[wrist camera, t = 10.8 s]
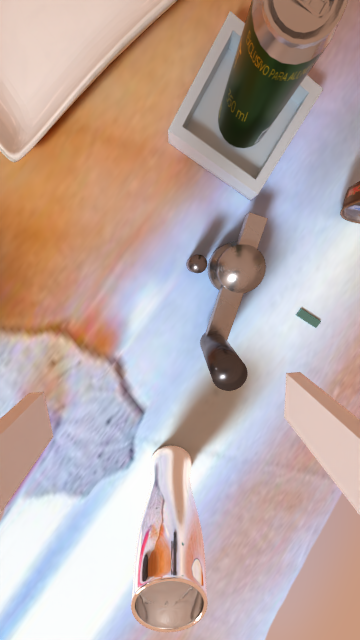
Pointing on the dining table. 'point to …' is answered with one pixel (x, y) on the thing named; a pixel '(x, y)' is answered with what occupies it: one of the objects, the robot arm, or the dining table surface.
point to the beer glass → (169, 549)
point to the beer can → (273, 63)
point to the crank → (233, 302)
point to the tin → (352, 204)
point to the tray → (203, 129)
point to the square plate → (58, 58)
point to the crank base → (200, 264)
